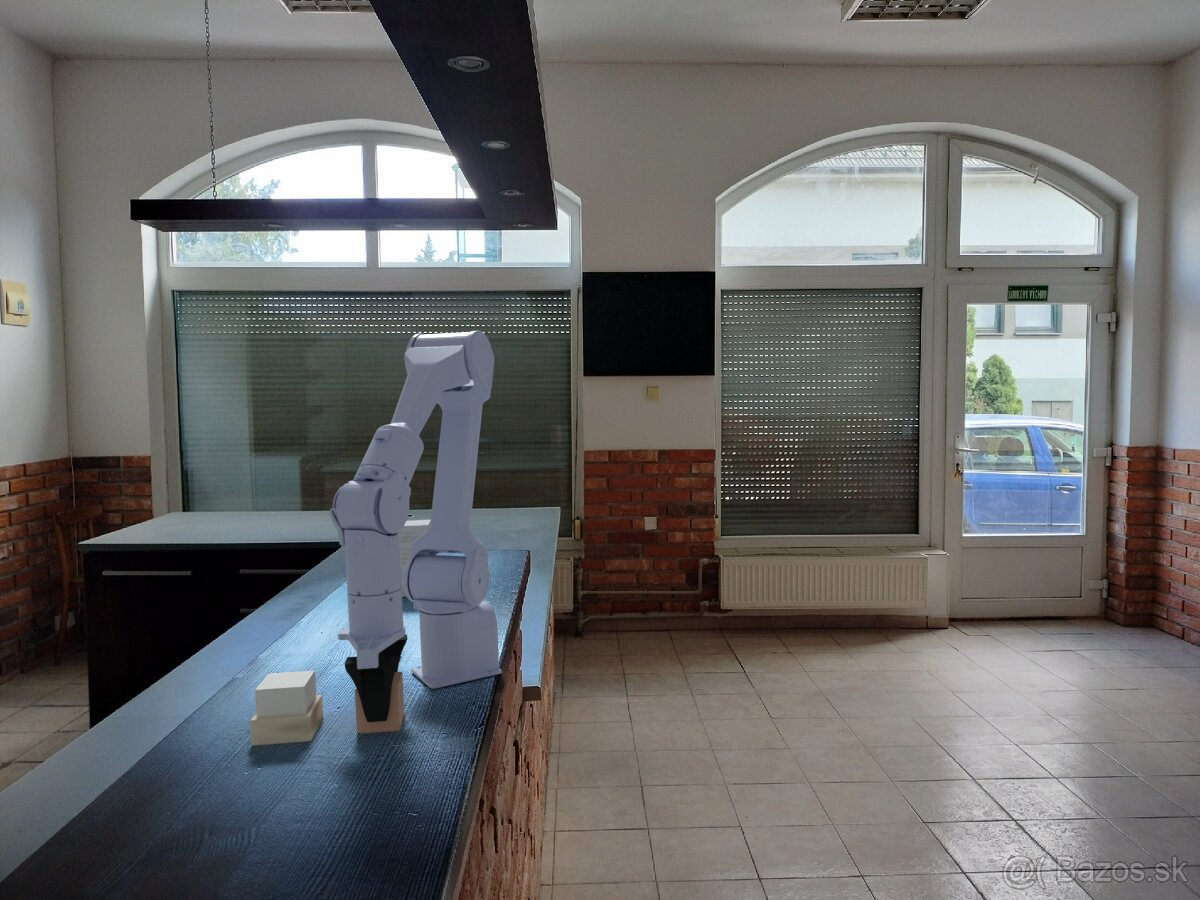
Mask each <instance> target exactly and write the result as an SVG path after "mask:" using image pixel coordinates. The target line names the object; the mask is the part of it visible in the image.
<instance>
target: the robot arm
mask: <svg viewBox="0 0 1200 900" xmlns="http://www.w3.org/2000/svg"><path fill="white" fill-rule="evenodd" d="M405 350H406V351H405V352H404V357H403V359H404V360H403V361H404V366H405V370H406V374H407V376H406V379H405V382H404V385H403V387H402V390H401V392H400V396H399V398H398V402H397V404H396V407H395V409H394V413H393V415H392V419H391V421H390V423H389V424H384V425H382V426H380V427H378V428H377V430H376V431H375V433H374V435H373V438H372V440H371V442H370V443H369V445H368V448H367V450H366V452H365V455H364V456H363V459H362V461H361V463H360V465H359V467H358V469H357V471H356V473H355V475H354V477H353V480H349V481H347V483H344V484H343V485H342V486H341V487H339V488H338V489H337V491H336V493H335V495H334V497H333V501H332V508H330V509H329V511H330V518H331V522H332V524H333V526H334V528H335V529H336V530H337V533H338V540H339V541H338V542H339V545H340V546H341V549H343V550H344V553H345V555H344V557H345V575H346V576H345V577H346V592H347V611H348V612H347V613H348V614H347V615H348V628H341V629H340V630H339V631H338V633H337V638H338V641H348V642H349V643H350V645H351V646H352V647H353V649H354V650H355V652H356V656H347V657H346V659H345V661H344V669H345V671H346V674H347V675H348V676H349V677H350V679H351V680H352V682H353V684H354V686H355V687H356V688H357V691H358V693H359V697H360V700H361V704H362V708H363V711H364V714H365V717H366V720H367V722H380V721H387V718H388V714H389V709H390V700H391V689H392V683H393V678H394V674H395V672H399V665H400V662H401V659H402V653H403V650H404V648H405V646H406V643H407V642H408V634H406V626H405V624H404V616H403V615H404V612H403V597H402V588H401V568H400V547H399V531H400V530H401V529H402V528H403V526H404V525H405V523H406V521H408V519H409V514H410V497H411V494H412V492H411V491H412V488H411V487H410V483H411V481H412V479H413V476H414V473H415V471H416V470H417V466H418V464H419V462H420V460H421V457H422V454H423V452H424V450H425V449H424V448H425V447H424V446H425V445H424V442H423V440H422V439H421V437H420V434H421V432H423V431H422V430H423V428H424V427H425V425H426V424H427V421H428V419H429V417H430V416H431V414H432V412H433V410H434V409H435V407H436V405H439V407H440V408H441V410H442V415H441V425H440V433H439V442H438V453H437V461H436V469H435V478H434V486H433V497H432V506H431V512H430V513H431V514H430V515H431V516H430V520H431V522H430V529H429V530H428V531H426V532H425V533H424V534H423V535H421V536H420V537H419V538H418V539H416V540H415V541H414V542H413V543H412V544H411V551H410V556H409V559H408V562H407V564H406V566H405V569H404V572H403V588H404V591H405V594H406V596H407V597H406V598H407V600H409V601H410V602H411V603H413V610H418V613H419V615H418V616H419V617H418V618H419V635H420V636H419V637H420V638H419V641H420V656H421V657H420V659H421V665H419V666H414V667H412V668H411V669H410V670H411V671H410V672H411V673H413V674H414V675H415V676H416V677H417V678H418V679H419V680H420V681H422V682H423V683H424V684H425V685H426V686H428V687H429V688H430V689H432V690H433V689H434V690H435V689H439V688H444V687H448V686H452V685H457V684H461V683H465V682H470V681H475V680H479V679H483V678H488V677H492V676H495V675H496V676H497V675H500V674H502V669H501V668H500V659H499V633H498V621H497V620H498V619H497V615H496V612H495V609H494V608H493V606H492V604H491V603H490V602H489V601H487V600H485V598H486V597H487V595H488V592H489V588H490V581H491V580H490V579H491V577H490V576H491V574H490V569H489V548H488V547H486V545H485V544H484V543H483V542H482V541H481V540H480V539H479V538H478V537H477V536H475V534H474V533H472V531H471V523H472V514H473V513H472V512H473V506H474V505H473V502H474V492H475V484H476V483H475V482H476V473H477V463H478V454H479V445H480V444H479V443H480V435H481V434H480V433H481V425H482V424H481V423H482V415H483V414H482V413H483V404H484V403H485V402H486V401H488V400H489V399H490V398H491V396H492V395H491V393H492V387H493V379H494V376H493V375H494V369H495V368H494V367H495V355H494V351H493V349H492V345H491V343H490V340H489V338H488V337H487V335H486V334H485V333H484V332H482V331H481V330H478V329H477V330H472V331H463V332H448V333H432V334H431V333H429V334H424V333H416V334H414V335H413V336H412V337H411V338H410V339H409V341H408V343H407V346H406V349H405ZM443 553H445V554H447V553H448V554H463V555H442V554H443Z"/></svg>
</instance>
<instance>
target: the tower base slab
mask: <svg viewBox="0 0 1200 900" xmlns="http://www.w3.org/2000/svg"><path fill="white" fill-rule="evenodd" d="M323 706H324V705H323V694H318V695H317V694H316V698H315V700H314V701H313V703H312V705H311V706H310V708H309V710H308V711H307V713H306V714H300V715H286V716H273V717H260V718H257V714H256V712H255V713H254V715H253V716H252V718H251V719H250V722H249V723H250V738H251V746H262V745H264V746H265V745H275V744H276V745H278V744H288V743H291V744H292V743H300V742H311V741H312V740H313V738H314V736H315V734H316V733H317V731H318V729H319V727H320V726H321V723H322V721H323V720H324V708H323Z"/></svg>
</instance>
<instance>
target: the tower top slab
mask: <svg viewBox="0 0 1200 900" xmlns="http://www.w3.org/2000/svg"><path fill="white" fill-rule="evenodd" d="M316 683H317V682H316V670H301V671H290V672H289V671H287V672H286V671H285V672H276V673H275V672H273V673H267V675H266V676H265V677H264V679H263V680H261V682H260V683H259V685H258V686H257V687H256V688H255V689H254V695H255V698H254V699H255V707H256V708H255V713H256V714H257V718H260V717H273V716H286V715H300V714H306V713H307V711H308V710H309V708H310V706H311V705H312V703H313V701H314V700H315V698H316V695H317V685H316Z"/></svg>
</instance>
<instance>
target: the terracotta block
mask: <svg viewBox="0 0 1200 900" xmlns="http://www.w3.org/2000/svg"><path fill="white" fill-rule="evenodd" d="M403 676H404V675H403V671H398V672H395V674H394V678H393V683H392V689H391V700H390V709H389V714H388V718H387V721H380V722H367V720H366V717H365V714H364V711H363V708H362V704H361V700H360V697H359V693H358V691H357V688H356V686H355V688H354V703H355V704H354V705H355V719H356V722H355V723H356V734H357V735H359V734H358V733H363V734H372V733H373V734H374V733H384V732H385V733H386V732H397V731H398V732H399V731H400V730H401V728H402V723H403V721H404V716H405V702H404V701H405V700H404V699H405V698H404V679H403Z"/></svg>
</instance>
